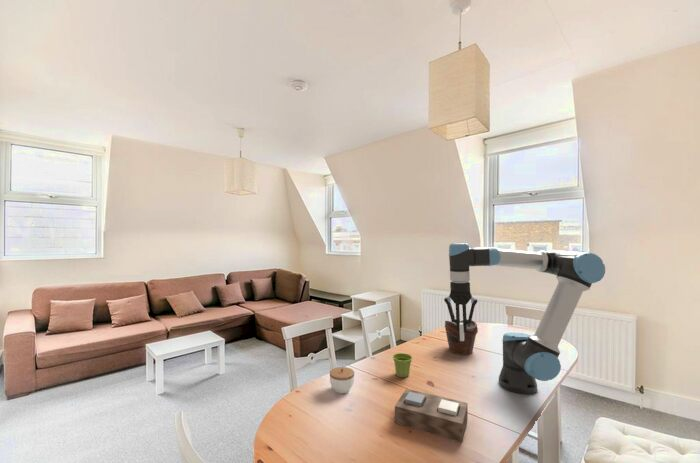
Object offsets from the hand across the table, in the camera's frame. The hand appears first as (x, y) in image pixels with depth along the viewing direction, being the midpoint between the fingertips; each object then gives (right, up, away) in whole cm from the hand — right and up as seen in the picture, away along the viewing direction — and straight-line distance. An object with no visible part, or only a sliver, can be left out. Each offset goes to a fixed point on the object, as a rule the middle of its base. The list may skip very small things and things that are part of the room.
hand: (462, 339), depth 125 cm
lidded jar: (-49, -25, +9) cm, 56 cm away
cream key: (-10, -22, -16) cm, 29 cm away
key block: (-16, -25, -13) cm, 32 cm away
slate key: (-21, -22, -10) cm, 32 cm away
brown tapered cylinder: (+20, -26, +55) cm, 64 cm away
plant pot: (-20, -25, +24) cm, 40 cm away
